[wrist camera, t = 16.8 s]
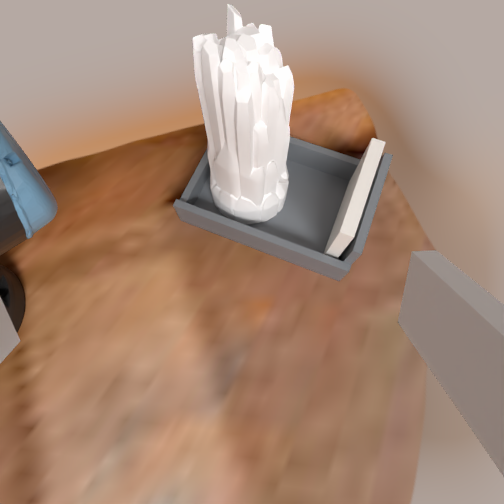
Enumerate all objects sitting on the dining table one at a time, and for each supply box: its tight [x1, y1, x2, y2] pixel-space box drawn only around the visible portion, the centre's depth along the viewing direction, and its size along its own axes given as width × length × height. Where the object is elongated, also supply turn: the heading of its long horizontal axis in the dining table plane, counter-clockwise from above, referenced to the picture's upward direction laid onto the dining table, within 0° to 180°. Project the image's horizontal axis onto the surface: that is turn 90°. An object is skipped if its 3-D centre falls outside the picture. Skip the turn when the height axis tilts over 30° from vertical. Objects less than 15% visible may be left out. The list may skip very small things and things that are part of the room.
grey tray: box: [173, 137, 393, 281], centre depth 44 cm, size 24×16×9 cm, turn 68°
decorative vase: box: [192, 4, 294, 224], centre depth 36 cm, size 11×11×25 cm
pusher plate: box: [323, 138, 385, 259], centre depth 41 cm, size 2×13×10 cm, turn 158°
